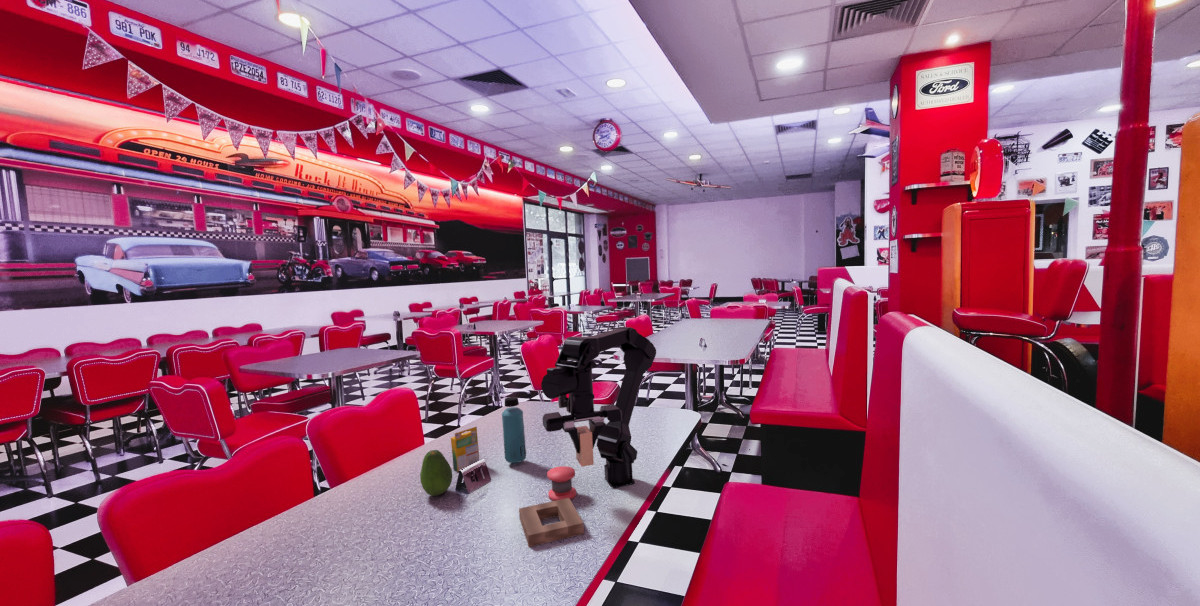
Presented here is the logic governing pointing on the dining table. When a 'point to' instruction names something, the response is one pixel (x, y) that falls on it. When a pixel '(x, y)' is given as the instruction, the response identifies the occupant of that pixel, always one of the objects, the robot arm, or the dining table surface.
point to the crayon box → (465, 448)
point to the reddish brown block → (585, 446)
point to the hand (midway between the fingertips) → (584, 451)
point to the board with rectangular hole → (555, 531)
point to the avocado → (435, 473)
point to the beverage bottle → (513, 431)
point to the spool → (561, 483)
